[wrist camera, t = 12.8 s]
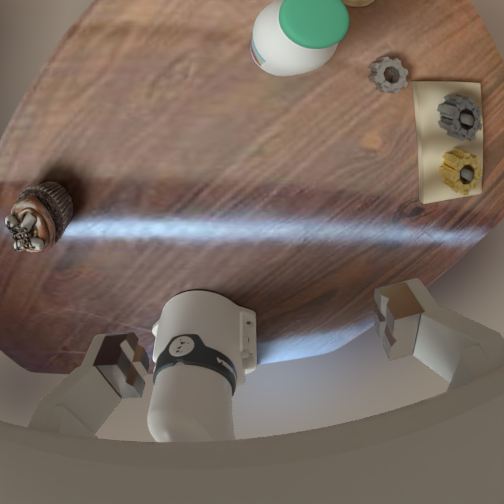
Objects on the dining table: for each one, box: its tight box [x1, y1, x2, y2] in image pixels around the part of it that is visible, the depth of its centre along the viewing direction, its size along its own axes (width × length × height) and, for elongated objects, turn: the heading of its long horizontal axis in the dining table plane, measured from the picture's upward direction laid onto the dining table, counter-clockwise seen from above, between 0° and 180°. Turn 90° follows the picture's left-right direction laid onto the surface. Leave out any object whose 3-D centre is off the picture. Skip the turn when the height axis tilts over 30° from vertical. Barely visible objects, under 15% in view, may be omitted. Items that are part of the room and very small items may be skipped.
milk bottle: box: [250, 0, 350, 76], centre depth 24 cm, size 8×8×20 cm
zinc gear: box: [368, 56, 408, 94], centre depth 33 cm, size 5×5×2 cm
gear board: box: [411, 81, 483, 204], centre depth 35 cm, size 18×12×6 cm, turn 12°
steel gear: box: [437, 94, 483, 142], centre depth 33 cm, size 6×6×3 cm
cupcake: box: [5, 181, 73, 253], centre depth 37 cm, size 10×10×10 cm
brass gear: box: [439, 147, 483, 196], centre depth 37 cm, size 6×6×3 cm
